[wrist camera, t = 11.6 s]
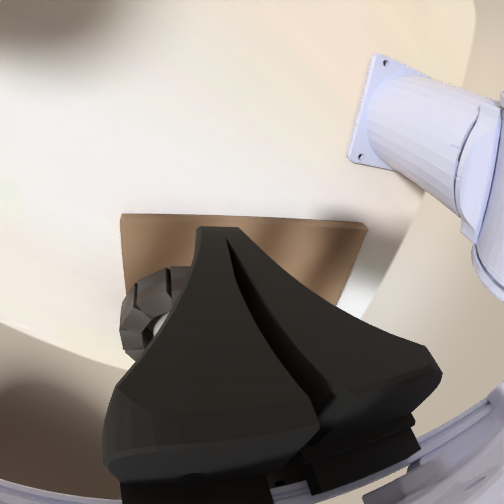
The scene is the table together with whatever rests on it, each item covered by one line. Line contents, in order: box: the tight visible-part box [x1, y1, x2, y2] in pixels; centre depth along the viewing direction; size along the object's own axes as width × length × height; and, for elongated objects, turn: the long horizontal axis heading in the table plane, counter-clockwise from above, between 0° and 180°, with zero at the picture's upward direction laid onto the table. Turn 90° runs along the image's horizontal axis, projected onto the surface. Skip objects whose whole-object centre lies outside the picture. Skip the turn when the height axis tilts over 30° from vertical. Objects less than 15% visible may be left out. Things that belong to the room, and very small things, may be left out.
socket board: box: [119, 214, 368, 361], centre depth 24 cm, size 18×14×4 cm
